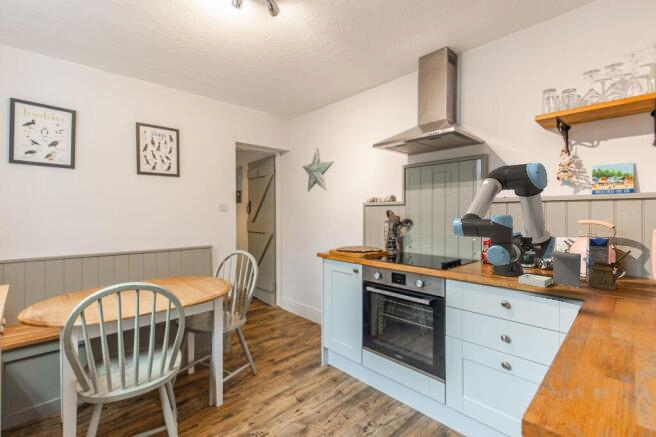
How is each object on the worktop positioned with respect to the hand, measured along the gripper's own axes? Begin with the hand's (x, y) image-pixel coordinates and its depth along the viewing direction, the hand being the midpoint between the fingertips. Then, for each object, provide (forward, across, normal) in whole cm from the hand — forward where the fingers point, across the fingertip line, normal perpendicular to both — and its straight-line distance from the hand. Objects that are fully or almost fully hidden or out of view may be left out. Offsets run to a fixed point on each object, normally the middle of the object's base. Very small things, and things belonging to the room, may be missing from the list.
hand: (529, 248), depth 138 cm
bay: (+11, +10, -18) cm, 23 cm away
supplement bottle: (-5, 0, -7) cm, 8 cm away
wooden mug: (+26, +24, -18) cm, 40 cm away
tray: (+9, 0, -18) cm, 20 cm away
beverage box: (+36, +18, -18) cm, 44 cm away
